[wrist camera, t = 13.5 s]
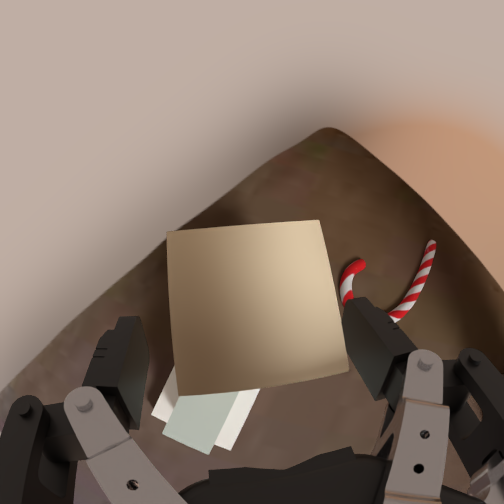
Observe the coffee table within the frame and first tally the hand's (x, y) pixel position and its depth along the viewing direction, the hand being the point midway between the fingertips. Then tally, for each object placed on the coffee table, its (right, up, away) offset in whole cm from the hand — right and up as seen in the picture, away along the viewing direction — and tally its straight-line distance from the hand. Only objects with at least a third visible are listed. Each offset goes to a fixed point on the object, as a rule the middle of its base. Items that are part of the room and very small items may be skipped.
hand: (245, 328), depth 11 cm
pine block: (-1, -2, +6) cm, 6 cm away
